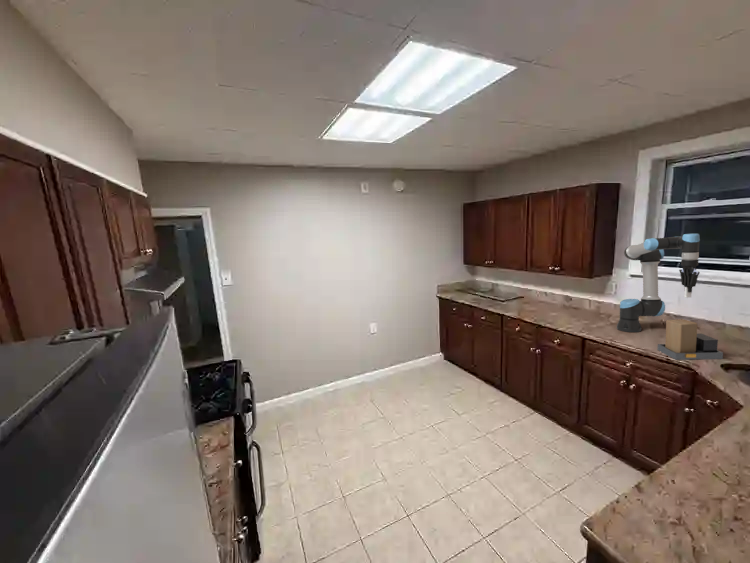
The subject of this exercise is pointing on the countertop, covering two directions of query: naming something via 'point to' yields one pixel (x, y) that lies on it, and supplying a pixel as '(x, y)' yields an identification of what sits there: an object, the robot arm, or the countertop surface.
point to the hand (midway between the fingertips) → (687, 297)
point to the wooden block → (681, 335)
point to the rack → (704, 350)
